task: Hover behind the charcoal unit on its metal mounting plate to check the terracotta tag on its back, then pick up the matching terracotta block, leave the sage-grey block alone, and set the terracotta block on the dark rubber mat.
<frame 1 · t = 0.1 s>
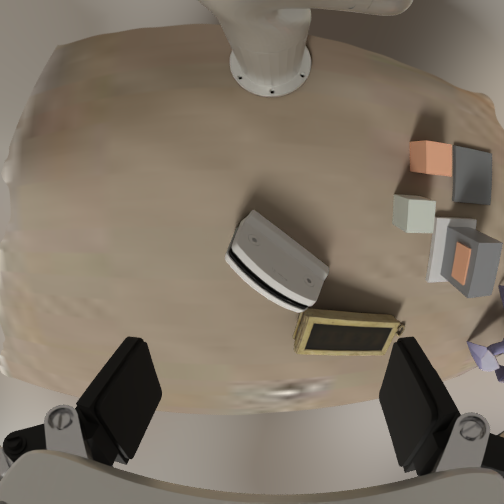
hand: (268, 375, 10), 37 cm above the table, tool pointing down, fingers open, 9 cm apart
terracotta block: (422, 157, 39), on the table
grey block: (406, 209, 42), on the table
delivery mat: (472, 176, 39), on the table
mounted unit: (450, 249, 43), on the table
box: (352, 325, 50), on the table
white curved block: (278, 256, 47), on the table
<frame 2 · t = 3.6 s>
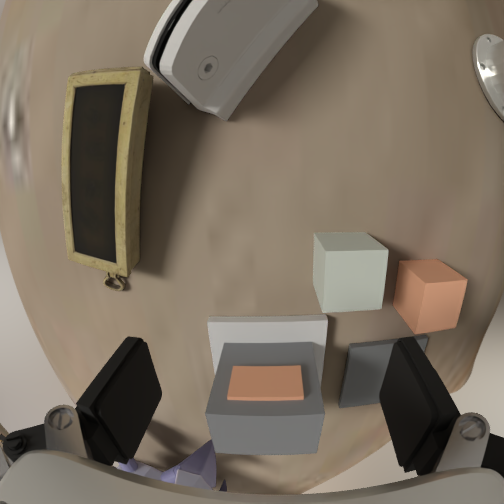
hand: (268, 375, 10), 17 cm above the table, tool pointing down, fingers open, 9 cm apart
terracotta block: (415, 282, 26), on the table
grey block: (339, 257, 26), on the table
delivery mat: (381, 372, 30), on the table
mounted unit: (268, 354, 30), on the table
robotic device: (163, 455, 39), on the table
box: (116, 185, 26), on the table
white curved block: (240, 38, 21), on the table
electronic device: (12, 446, 58), on the table
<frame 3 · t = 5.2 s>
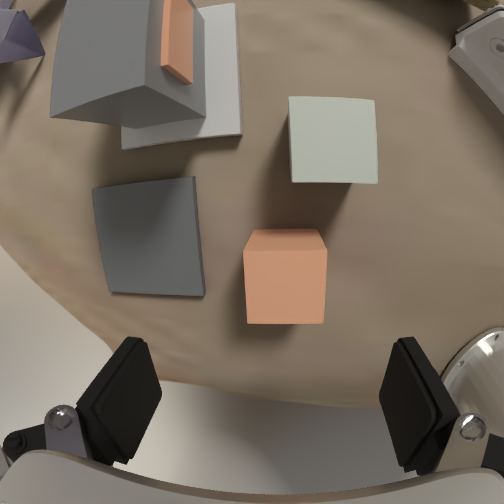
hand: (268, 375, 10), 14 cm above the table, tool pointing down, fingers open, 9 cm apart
terracotta block: (285, 258, 23), on the table
grey block: (321, 145, 20), on the table
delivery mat: (147, 238, 24), on the table
mounted unit: (179, 74, 19), on the table
robotic device: (21, 21, 17), on the table
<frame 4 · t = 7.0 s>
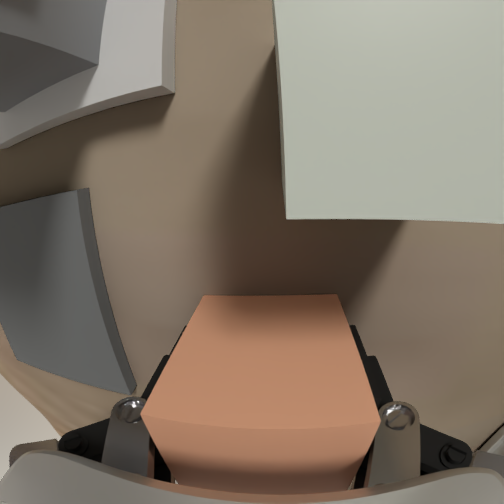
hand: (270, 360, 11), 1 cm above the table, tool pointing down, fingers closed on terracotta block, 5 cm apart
terracotta block: (270, 349, 11), on the table, touching gripper
grey block: (353, 112, 8), on the table
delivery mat: (40, 295, 12), on the table
mounted unit: (79, 9, 7), on the table
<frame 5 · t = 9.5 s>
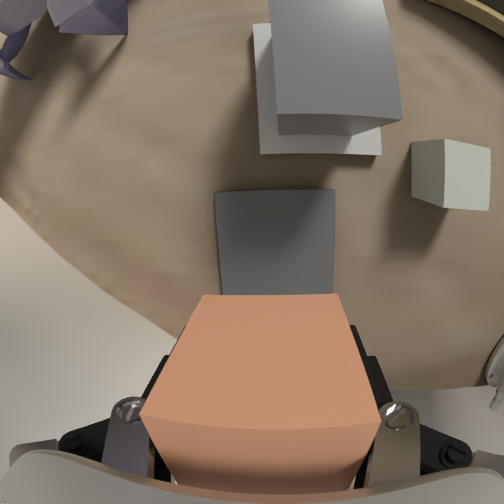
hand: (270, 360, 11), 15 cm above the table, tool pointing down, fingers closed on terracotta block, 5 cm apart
terracotta block: (270, 349, 11), point 15 cm above the table, touching gripper
grey block: (433, 171, 21), on the table
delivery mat: (276, 246, 25), on the table
mounted unit: (316, 86, 20), on the table
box: (461, 2, 14), on the table
when the fingers open (3 cm above the table, at t = 12.2 s): terracotta block drops 1 cm, resting on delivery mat.
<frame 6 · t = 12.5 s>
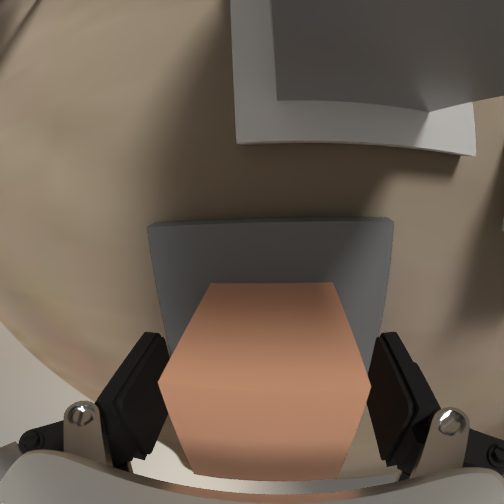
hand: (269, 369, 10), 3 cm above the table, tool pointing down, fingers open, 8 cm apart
terracotta block: (272, 334, 12), point 1 cm above the table, touching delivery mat
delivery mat: (272, 324, 13), on the table
mounted unit: (351, 18, 8), on the table
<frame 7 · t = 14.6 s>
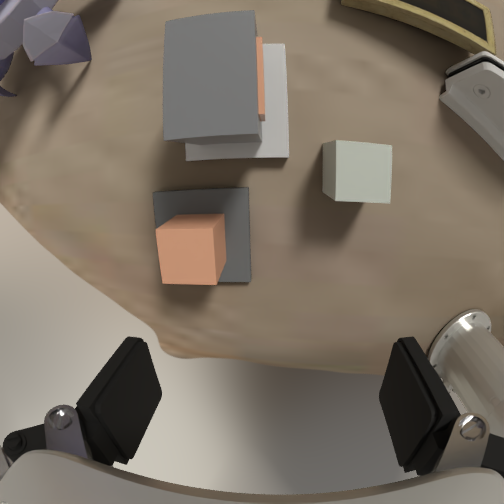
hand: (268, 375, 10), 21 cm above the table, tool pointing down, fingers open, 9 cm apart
terracotta block: (201, 237, 29), point 1 cm above the table, touching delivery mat
grey block: (346, 168, 27), on the table
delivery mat: (203, 235, 30), on the table
mounted unit: (236, 100, 25), on the table
robotic device: (55, 20, 21), on the table
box: (400, 6, 20), on the table
white curved block: (487, 114, 23), on the table
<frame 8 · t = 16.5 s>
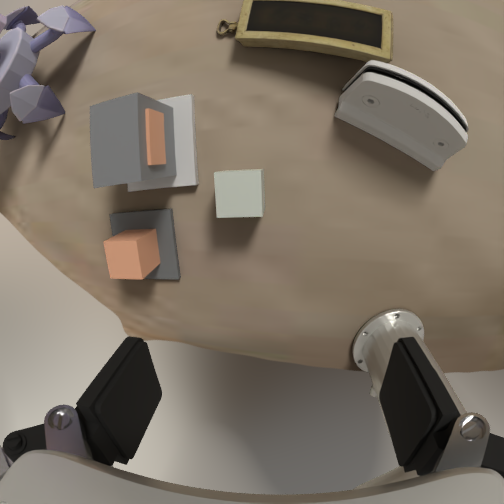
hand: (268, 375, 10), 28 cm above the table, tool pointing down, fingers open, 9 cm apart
terracotta block: (142, 246, 39), point 1 cm above the table, touching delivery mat
grey block: (244, 189, 36), on the table
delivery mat: (144, 244, 39), on the table
mounted unit: (160, 143, 35), on the table
robotic device: (38, 75, 32), on the table
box: (302, 32, 28), on the table
white curved block: (396, 119, 31), on the table
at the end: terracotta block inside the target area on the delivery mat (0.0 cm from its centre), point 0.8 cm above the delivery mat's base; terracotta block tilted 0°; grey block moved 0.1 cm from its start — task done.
